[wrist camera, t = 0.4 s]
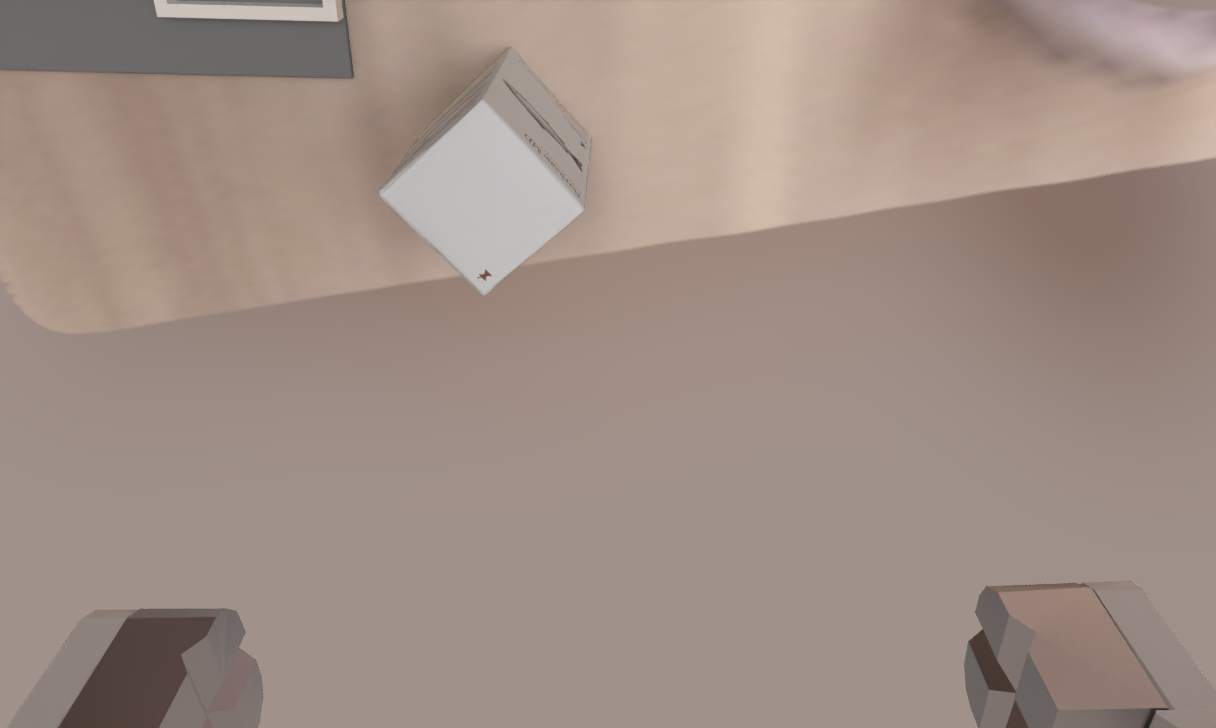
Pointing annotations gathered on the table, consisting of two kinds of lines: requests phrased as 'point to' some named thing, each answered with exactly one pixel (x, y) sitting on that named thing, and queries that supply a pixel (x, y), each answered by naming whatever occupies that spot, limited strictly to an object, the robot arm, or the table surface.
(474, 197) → the supplement box
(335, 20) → the frame
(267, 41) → the desk mat
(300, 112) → the table surface
